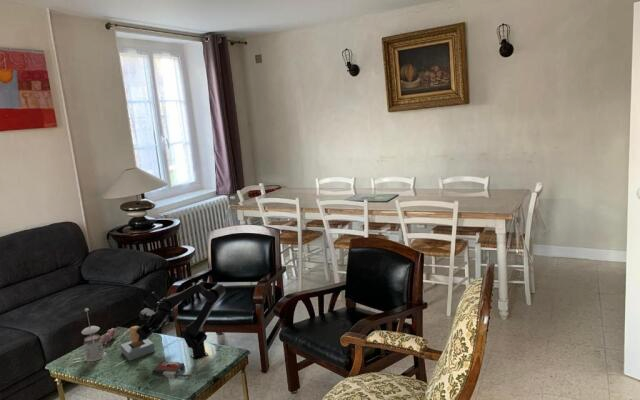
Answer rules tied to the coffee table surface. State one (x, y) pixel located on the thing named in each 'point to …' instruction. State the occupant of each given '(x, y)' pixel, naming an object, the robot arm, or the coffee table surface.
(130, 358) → the socket block
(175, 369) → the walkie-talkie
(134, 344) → the peg
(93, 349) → the french press
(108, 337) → the video game controller
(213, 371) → the coffee table surface
